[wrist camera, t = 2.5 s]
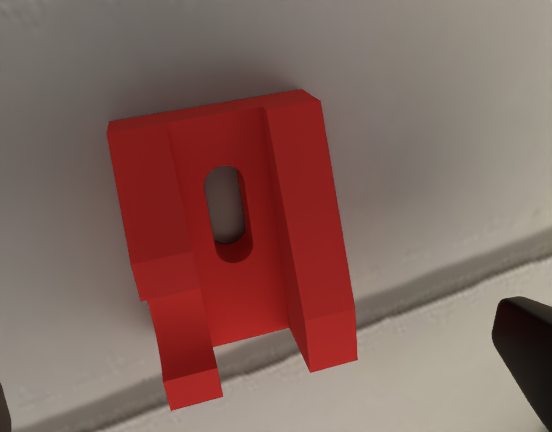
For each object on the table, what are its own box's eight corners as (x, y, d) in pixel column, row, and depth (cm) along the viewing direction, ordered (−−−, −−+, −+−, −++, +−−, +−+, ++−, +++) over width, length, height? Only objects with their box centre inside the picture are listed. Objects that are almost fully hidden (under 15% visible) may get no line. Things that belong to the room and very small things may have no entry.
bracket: (319, 297, 16) (357, 359, 13) (164, 335, 15) (170, 410, 12) (301, 88, 13) (344, 115, 10) (108, 121, 12) (102, 160, 10)
